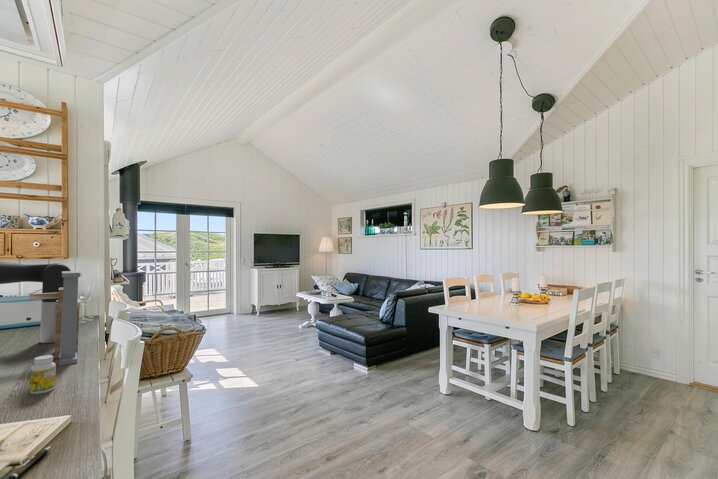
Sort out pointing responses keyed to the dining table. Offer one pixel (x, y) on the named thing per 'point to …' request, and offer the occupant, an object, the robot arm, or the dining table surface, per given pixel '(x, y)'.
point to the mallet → (48, 296)
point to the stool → (59, 326)
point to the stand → (69, 318)
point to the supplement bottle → (43, 375)
